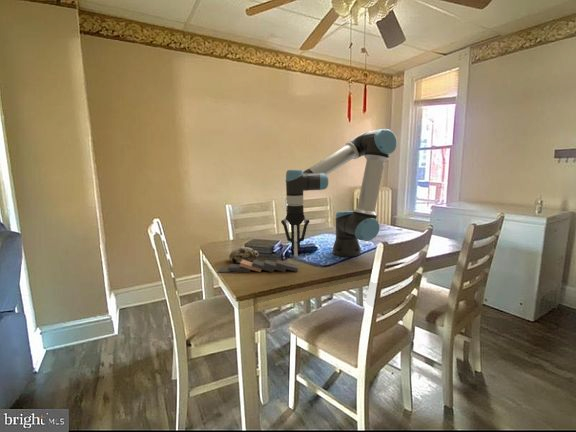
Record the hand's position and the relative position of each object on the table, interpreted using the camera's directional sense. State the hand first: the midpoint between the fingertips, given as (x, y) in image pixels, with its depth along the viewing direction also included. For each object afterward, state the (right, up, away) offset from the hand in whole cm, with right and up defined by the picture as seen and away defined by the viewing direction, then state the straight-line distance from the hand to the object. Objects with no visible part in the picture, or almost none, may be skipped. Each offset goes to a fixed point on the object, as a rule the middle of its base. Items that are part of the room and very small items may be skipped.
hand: (295, 255), depth 140 cm
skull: (-26, -5, +15) cm, 30 cm away
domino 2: (-21, -6, +2) cm, 22 cm away
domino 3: (-16, -6, +2) cm, 17 cm away
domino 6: (+1, -6, +1) cm, 6 cm away
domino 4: (-10, -6, +1) cm, 12 cm away
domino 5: (-5, -6, +1) cm, 8 cm away
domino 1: (-26, -8, +2) cm, 27 cm away
